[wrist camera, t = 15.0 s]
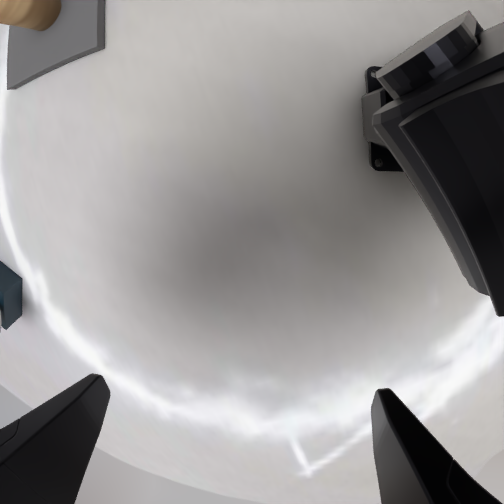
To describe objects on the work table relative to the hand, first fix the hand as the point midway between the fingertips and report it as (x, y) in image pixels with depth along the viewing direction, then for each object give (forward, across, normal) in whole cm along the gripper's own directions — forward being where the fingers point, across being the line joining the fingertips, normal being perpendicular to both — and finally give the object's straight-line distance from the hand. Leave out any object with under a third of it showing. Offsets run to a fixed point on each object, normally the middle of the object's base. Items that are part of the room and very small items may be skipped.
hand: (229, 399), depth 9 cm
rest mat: (+13, +15, -20) cm, 28 cm away
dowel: (+12, +15, -20) cm, 28 cm away
